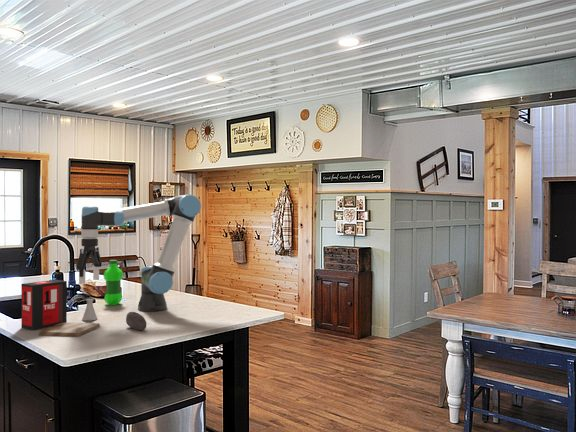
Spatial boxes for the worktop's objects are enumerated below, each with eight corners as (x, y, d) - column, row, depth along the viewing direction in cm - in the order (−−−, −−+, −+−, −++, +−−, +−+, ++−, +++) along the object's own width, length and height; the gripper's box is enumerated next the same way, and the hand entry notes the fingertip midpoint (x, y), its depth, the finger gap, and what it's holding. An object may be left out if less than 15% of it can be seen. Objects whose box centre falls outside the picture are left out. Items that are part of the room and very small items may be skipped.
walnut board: (99, 326, 230) (99, 323, 230) (78, 336, 212) (78, 332, 212) (62, 325, 232) (62, 322, 232) (38, 335, 214) (38, 331, 214)
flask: (84, 318, 248) (84, 298, 248) (99, 318, 249) (99, 297, 249) (79, 321, 241) (79, 300, 241) (95, 321, 242) (95, 300, 241)
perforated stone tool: (150, 331, 222) (150, 315, 222) (139, 333, 218) (139, 317, 218) (136, 325, 233) (136, 310, 233) (125, 327, 230) (125, 312, 229)
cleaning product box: (55, 321, 241) (55, 279, 241) (66, 323, 236) (66, 281, 236) (21, 328, 227) (21, 283, 227) (32, 330, 222) (32, 285, 222)
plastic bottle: (99, 305, 282) (99, 260, 282) (112, 302, 292) (112, 259, 292) (113, 306, 279) (113, 261, 278) (126, 303, 288) (126, 259, 288)
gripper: (95, 236, 257) (94, 278, 257) (68, 239, 232) (68, 285, 233) (109, 237, 256) (108, 278, 257) (83, 239, 232) (83, 285, 232)
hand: (89, 281), depth 245 cm, fingers open, 13 cm apart
